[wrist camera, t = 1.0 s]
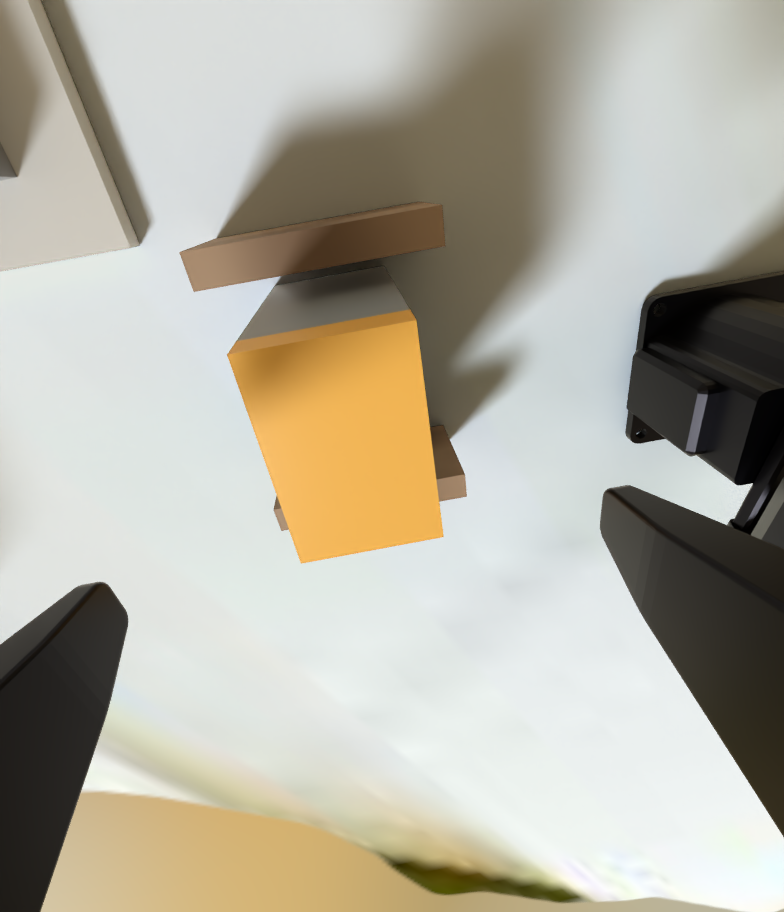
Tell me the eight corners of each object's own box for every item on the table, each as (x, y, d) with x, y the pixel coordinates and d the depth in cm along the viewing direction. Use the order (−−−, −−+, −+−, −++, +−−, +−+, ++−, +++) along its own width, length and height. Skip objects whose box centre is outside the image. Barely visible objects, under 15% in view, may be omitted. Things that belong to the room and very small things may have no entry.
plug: (384, 265, 16) (416, 320, 9) (406, 414, 19) (443, 537, 12) (274, 285, 16) (227, 354, 9) (314, 431, 19) (301, 563, 12)
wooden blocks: (419, 201, 15) (442, 204, 12) (445, 444, 20) (466, 496, 17) (215, 238, 15) (179, 251, 12) (291, 472, 20) (281, 530, 17)
